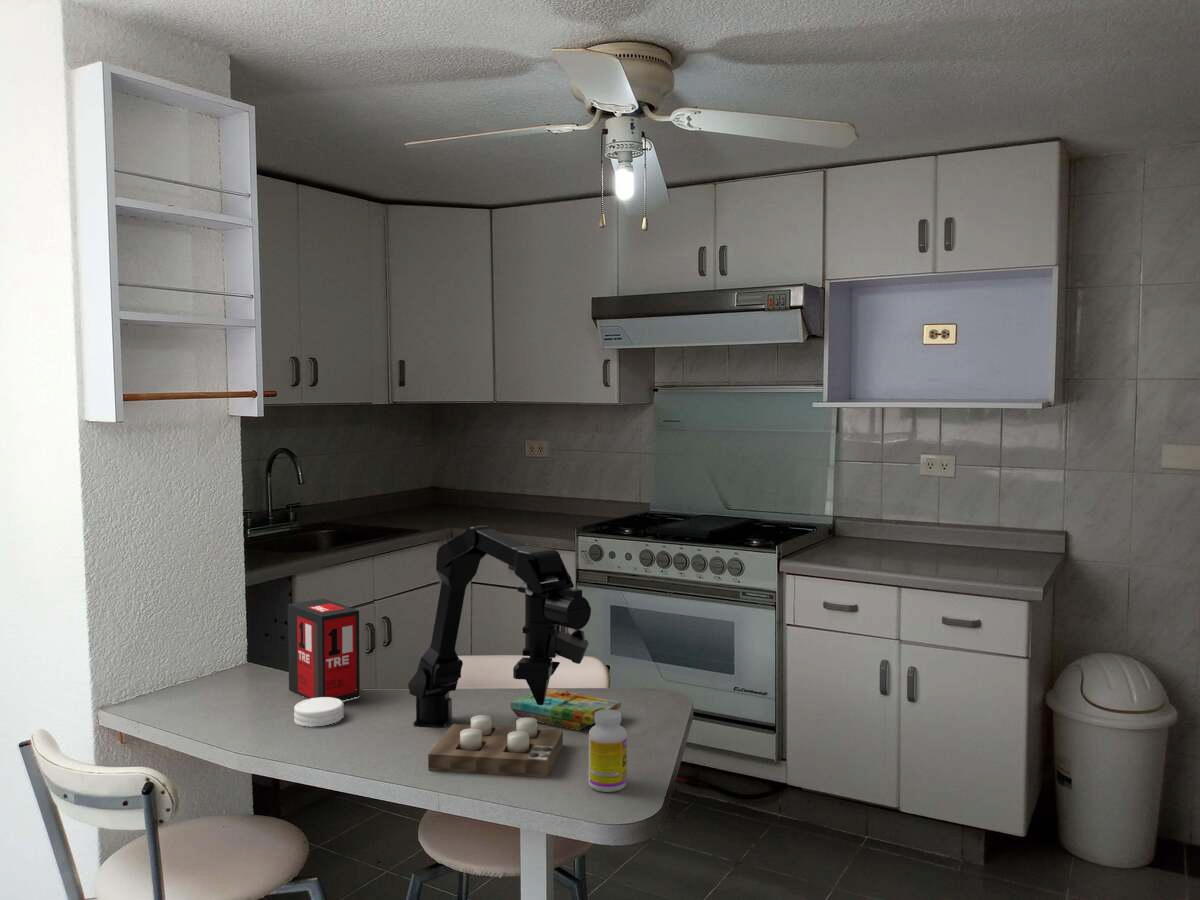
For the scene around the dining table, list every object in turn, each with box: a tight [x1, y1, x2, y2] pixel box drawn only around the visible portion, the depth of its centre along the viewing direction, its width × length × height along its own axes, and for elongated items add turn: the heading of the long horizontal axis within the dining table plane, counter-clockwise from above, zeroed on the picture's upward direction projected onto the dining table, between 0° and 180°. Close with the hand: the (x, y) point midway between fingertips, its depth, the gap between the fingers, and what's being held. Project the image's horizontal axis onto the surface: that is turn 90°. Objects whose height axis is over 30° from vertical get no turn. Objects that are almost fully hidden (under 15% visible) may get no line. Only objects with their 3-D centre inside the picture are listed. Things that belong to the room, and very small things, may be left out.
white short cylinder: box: [293, 697, 345, 728], centre depth 199 cm, size 10×10×4 cm
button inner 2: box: [515, 717, 538, 738], centre depth 182 cm, size 4×4×3 cm
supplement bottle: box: [588, 709, 628, 793], centre depth 165 cm, size 7×7×13 cm
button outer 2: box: [507, 731, 529, 753], centre depth 175 cm, size 4×4×3 cm
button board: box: [427, 723, 564, 778], centre depth 178 cm, size 22×16×3 cm
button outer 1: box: [460, 728, 482, 750], centre depth 176 cm, size 4×4×3 cm
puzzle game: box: [510, 687, 622, 731], centre depth 200 cm, size 12×5×20 cm
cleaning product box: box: [287, 598, 361, 701], centre depth 215 cm, size 16×9×20 cm, turn 43°
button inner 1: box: [470, 714, 493, 736], centre depth 184 cm, size 4×4×3 cm
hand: (540, 704), depth 172 cm, fingers closed
